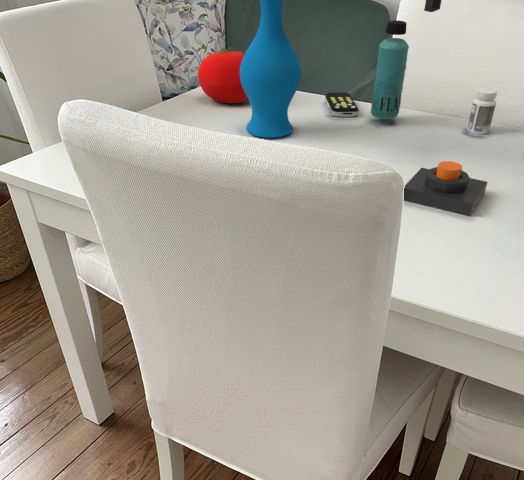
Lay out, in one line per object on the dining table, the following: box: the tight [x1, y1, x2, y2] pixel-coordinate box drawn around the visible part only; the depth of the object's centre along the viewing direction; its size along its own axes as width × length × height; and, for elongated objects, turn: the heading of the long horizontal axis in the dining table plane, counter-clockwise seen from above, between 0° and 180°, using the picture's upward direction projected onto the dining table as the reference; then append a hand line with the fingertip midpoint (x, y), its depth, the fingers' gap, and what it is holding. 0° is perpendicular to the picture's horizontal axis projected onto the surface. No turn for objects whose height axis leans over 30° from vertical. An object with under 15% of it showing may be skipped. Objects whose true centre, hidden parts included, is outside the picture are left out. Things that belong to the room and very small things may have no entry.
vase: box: [240, 0, 302, 139], centre depth 115 cm, size 12×13×28 cm
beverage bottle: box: [370, 19, 410, 120], centre depth 123 cm, size 6×7×20 cm
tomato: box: [197, 46, 248, 104], centre depth 136 cm, size 12×14×11 cm
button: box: [436, 160, 463, 181], centre depth 97 cm, size 4×4×2 cm
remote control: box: [324, 92, 359, 118], centre depth 135 cm, size 6×13×2 cm, turn 4°
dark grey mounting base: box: [403, 166, 488, 217], centre depth 99 cm, size 12×10×4 cm
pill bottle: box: [466, 87, 498, 135], centre depth 122 cm, size 5×5×8 cm
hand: (431, 9), depth 95 cm, fingers closed
